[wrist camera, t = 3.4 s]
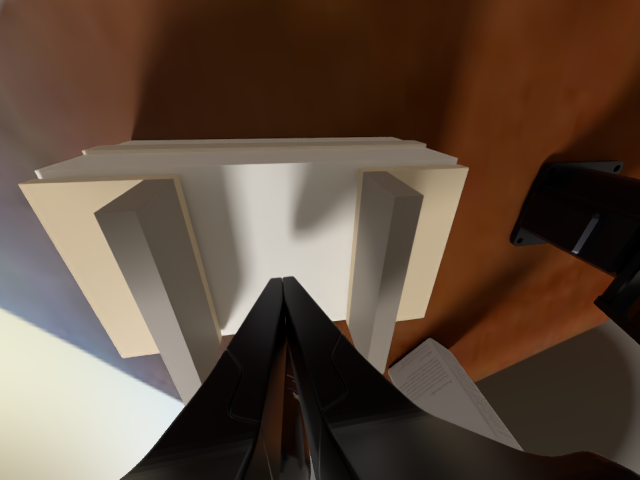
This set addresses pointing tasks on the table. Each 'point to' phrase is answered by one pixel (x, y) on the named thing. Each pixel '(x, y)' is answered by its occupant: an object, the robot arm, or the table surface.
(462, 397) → the skincare box
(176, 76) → the table surface
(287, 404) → the supplement bottle
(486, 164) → the table surface
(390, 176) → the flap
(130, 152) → the carton
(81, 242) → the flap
